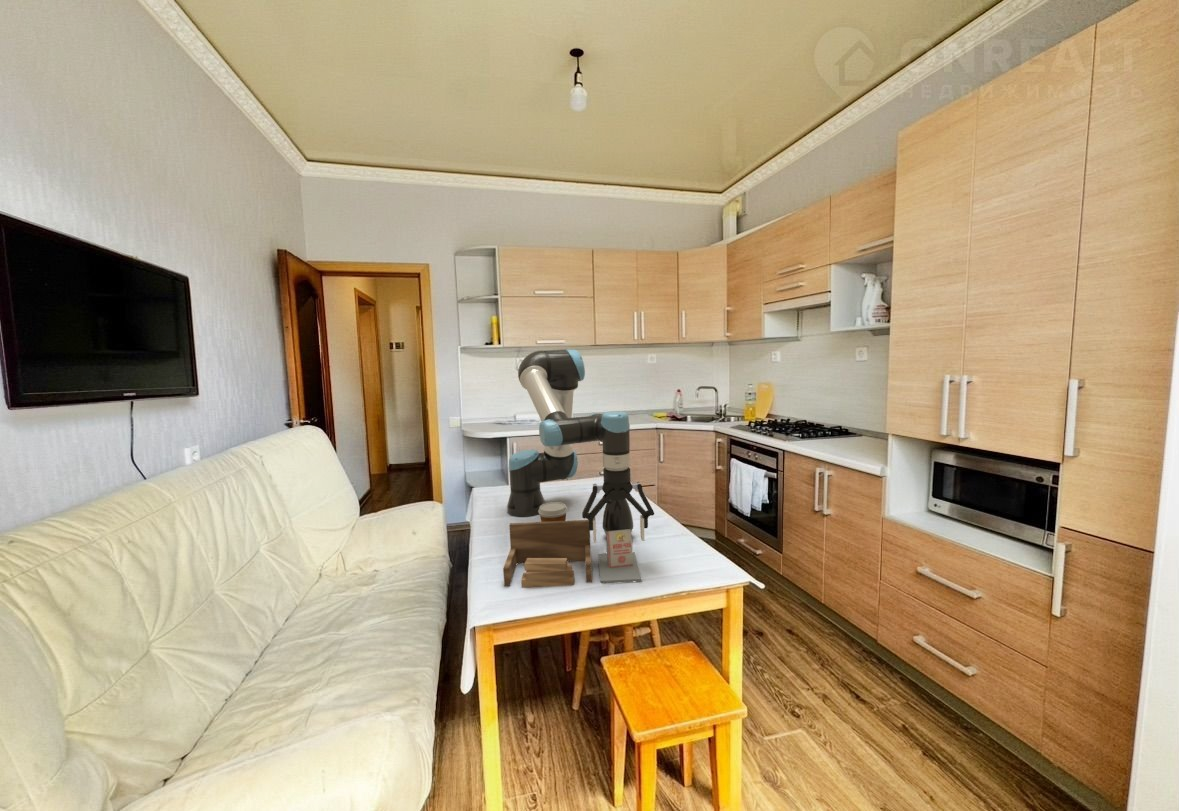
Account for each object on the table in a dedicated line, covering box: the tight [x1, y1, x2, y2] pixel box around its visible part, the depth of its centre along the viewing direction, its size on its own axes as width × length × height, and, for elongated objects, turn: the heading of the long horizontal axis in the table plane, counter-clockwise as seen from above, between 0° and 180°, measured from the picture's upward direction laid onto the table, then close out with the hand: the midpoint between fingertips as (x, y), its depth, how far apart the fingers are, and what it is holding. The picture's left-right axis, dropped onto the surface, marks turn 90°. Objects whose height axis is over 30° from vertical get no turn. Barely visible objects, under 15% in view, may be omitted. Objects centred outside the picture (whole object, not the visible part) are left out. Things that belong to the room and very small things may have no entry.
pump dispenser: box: [602, 499, 634, 536], centre depth 147 cm, size 10×10×15 cm
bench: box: [502, 519, 593, 587], centre depth 126 cm, size 14×24×12 cm, turn 91°
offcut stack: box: [520, 558, 575, 588], centre depth 120 cm, size 5×14×6 cm, turn 91°
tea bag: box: [606, 529, 634, 568], centre depth 127 cm, size 4×7×10 cm, turn 98°
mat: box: [597, 551, 643, 584], centre depth 127 cm, size 16×11×1 cm
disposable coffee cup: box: [538, 501, 568, 522], centre depth 146 cm, size 10×10×12 cm
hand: (618, 539), depth 127 cm, fingers open, 13 cm apart
